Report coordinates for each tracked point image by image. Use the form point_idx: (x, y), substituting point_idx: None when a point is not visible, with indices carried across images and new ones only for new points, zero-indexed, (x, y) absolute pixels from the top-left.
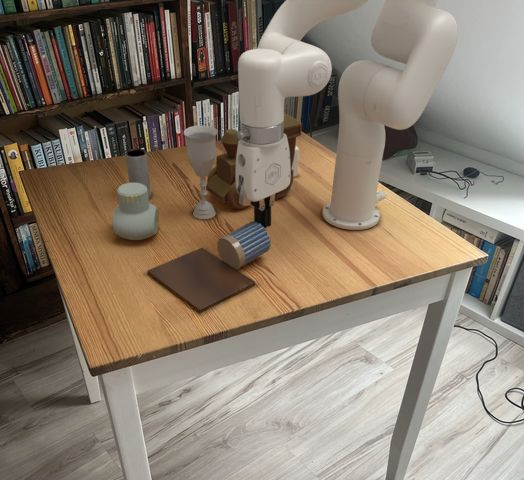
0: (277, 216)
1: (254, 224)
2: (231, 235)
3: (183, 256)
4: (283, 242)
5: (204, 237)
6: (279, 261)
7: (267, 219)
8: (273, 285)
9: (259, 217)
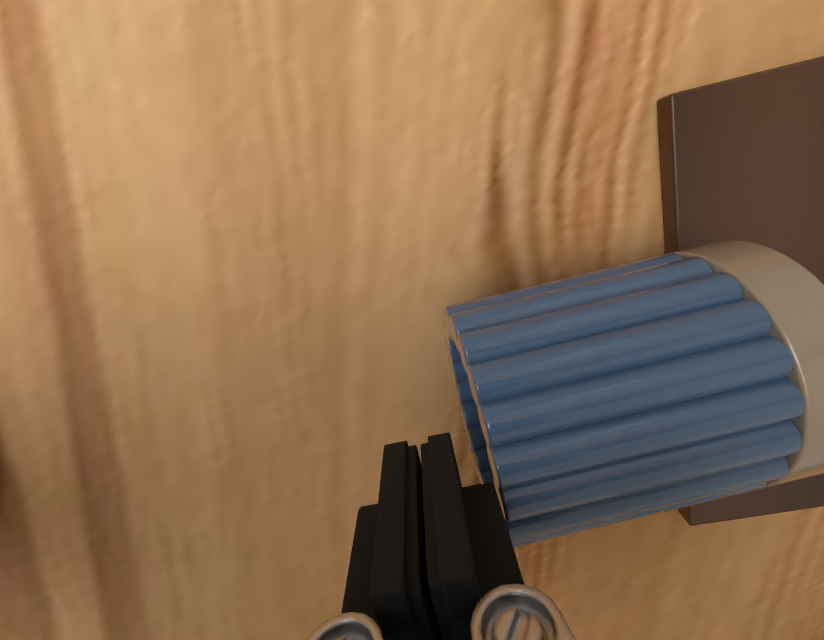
0: (207, 594)
1: (546, 486)
2: (799, 442)
3: (820, 499)
4: (284, 404)
5: (598, 592)
6: (394, 258)
7: (423, 486)
8: (563, 45)
9: (506, 530)
